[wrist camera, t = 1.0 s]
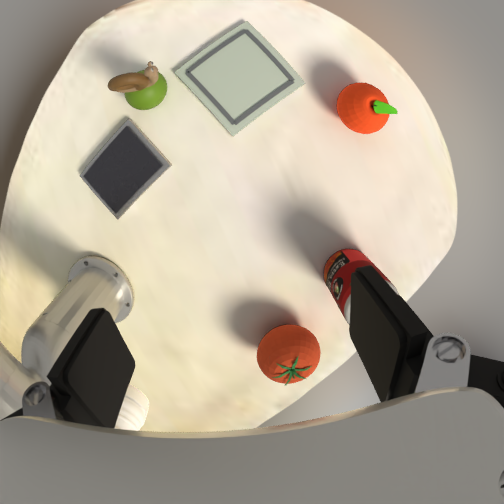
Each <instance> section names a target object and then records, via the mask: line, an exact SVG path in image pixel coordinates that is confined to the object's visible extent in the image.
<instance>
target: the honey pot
mask: <svg viewBox="0 0 504 504" xmlns="http://www.w3.org/2000/svg"><path fill="white" fill-rule="evenodd" d="M148 408H149V401H148V399H147V397H146V396H145V395H144V393H143V392H141V391H140V390H139V389H138V388H136V387H134V386H133V385H131V384H129V386H128V388H127V391H126V394H125V397H124V400H123V403H122V406H121V409H120V412H119V415H118V418H117V421H116V425H115V428H114V429H124V430H136V431H139V430H140V428H141V427H142V426H143V425H144V423H145V419H146V416H147V412H148Z"/></svg>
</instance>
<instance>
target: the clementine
mask: <svg viewBox="0 0 504 504" xmlns="http://www.w3.org/2000/svg"><path fill="white" fill-rule="evenodd" d="M337 111H338V114H339V117H340V119H341V120H342V122H343V123H344V124H345V125H346V126H347V127H348V128H349V129H351V130H353V131H355V132H358V133H362V134H370V133H373V132H376V131H379V130H380V129H381V128H383V126H384V125H385V124H386V122H387V120H388V118H389V114H397V110H396V109H395V108H394V107H392V106H390V105H389V104H388V101H387V99H386V97H385V96H384V94H383V93H382V92H381V91H380V90H379V89H378V88H376V87H374V86H373V85H370V84H367V83H354V84H350V85H349V86H347V87H345V88H344V89H343V90H342V92H341V93H340V94H339V97H338V99H337Z"/></svg>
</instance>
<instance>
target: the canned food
mask: <svg viewBox="0 0 504 504" xmlns="http://www.w3.org/2000/svg"><path fill="white" fill-rule="evenodd" d="M368 265H372V266H373V267H374V268H375V270H376V271H377V272H378V273H379V274H380V275H381V276H382V277H383V278H384V280H385V281H386V282H387V283H388V284H389V285H390V286H391V288H392V289H393V290H394V291H395V292H396V293H397V294H398V291H397V289H396V288H395V286H394V285H393V284H392V283H391V282H390V281H389V279H388V278H387V277H386V276H385V275H384V274H383V273H382V272H381V271H380V270H379V269H378V268H377V267H376V266H375V265H374V264H373V263H372V262H371V261H370V260H369V259H368V258H367V257H366V256H365V255H364V254H363V253H362V252H360V251H357V250H354V249H344V250H340V251H338V252H336V253H335V254H333V255H332V256H331V257H330V258H329V260H328V261H327V263H326V265H325V268H324V280H325V283H326V285H327V287H328V288H329V290H330V292H331V294H332V296H333V298H334V299H335V301H336V303H337V305H338V307H339V309H340V311H341V312H342V314H343V316H344V318H345V319H346V321H347V323H348V324H349V325H350V301H351V273H353V272H355V269H356V268H358V267H363V266H368ZM398 295H399V294H398Z"/></svg>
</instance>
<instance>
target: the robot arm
mask: <svg viewBox="0 0 504 504" xmlns="http://www.w3.org/2000/svg"><path fill="white" fill-rule="evenodd" d="M133 302H134V295H133V290H132V286H131V284H130V282H129V280H128V278H127V277H126V275H125V274H124V273H123V272H122V271H121V269H120V268H119V267H117V266H116V265H115V264H114V263H112V262H110V261H109V260H107V259H104V258H101V257H97V256H88V257H84V258H82V259H80V260H78V261H77V262H76V263H75V264H74V265H73V267H72V268H71V270H70V272H69V276H68V285H67V286H66V287H65V288H64V289H63V290H62V291H61V292H60V293H59V294H58V295H57V296H56V297H55V299H54V300H53V301H52V302H51V303H50V304H49V305H48V306H47V308H46V309H45V310H44V311H43V312H42V313H41V314H40V316H39V317H38V318H37V319H36V320H35V321H34V323H33V324H32V325H31V326H30V327H29V329H28V330H27V332H26V334H25V336H24V339H23V343H22V351H21V358H22V364H21V363H20V362H19V361H18V360H17V359H16V358H15V357H14V356H13V355H12V354H11V353H10V352H9V351H8V350H7V348H6V347H5V346H4V345H3V344H2V343H1V342H0V504H504V362H501V361H497V360H492V359H488V358H484V357H479V356H475V355H471V354H470V347H469V345H468V343H467V341H465V340H464V338H462V337H460V336H459V335H456V334H453V333H441V334H438V335H436V336H433V335H432V333H431V332H430V331H429V330H428V329H427V327H426V326H425V325H424V323H423V322H422V321H421V320H420V319H419V318H418V316H417V315H416V314H415V313H414V311H412V309H411V308H410V307H409V305H408V304H407V303H406V302H405V301H404V300H403V298H402V297H401V296H400V295H398V294H397V293H396V292H395V291H394V290H393V289H392V288H391V286H390V285H389V284H388V283H387V282H386V281H385V280H384V278H383V277H382V276H381V275H380V274H379V273H378V272H377V271H376V270H375V268H374V267H373V266H372V265H368V266H363V267H358V268H356V269H355V272H353V273H351V301H350V328H349V331H350V337H351V339H352V341H353V344H354V346H355V348H356V350H357V352H358V354H359V356H360V358H361V360H362V362H363V364H364V366H365V369H366V371H367V373H368V375H369V377H370V379H371V382H372V384H373V385H374V388H375V390H376V392H377V395H378V397H379V399H380V401H381V403H377V404H374V405H370V406H367V407H363V408H360V409H356V410H352V411H348V412H344V413H340V414H336V415H331V416H326V417H322V418H317V419H312V420H307V421H302V422H296V423H290V424H284V425H278V426H270V427H262V428H254V429H243V430H232V431H216V432H152V431H136V430H124V429H114V428H115V425H116V421H117V418H118V415H119V412H120V409H121V406H122V403H123V400H124V397H125V394H126V391H127V388H128V386H129V383H130V380H131V377H132V374H133V372H134V369H135V360H134V358H133V356H132V355H131V353H130V351H129V349H128V347H127V345H126V344H125V342H124V340H123V338H122V336H121V334H120V332H119V330H118V328H117V326H116V324H115V323H118V322H120V321H122V320H124V319H125V318H126V317H127V316H128V315H129V313H130V311H131V310H132V307H133Z"/></svg>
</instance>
